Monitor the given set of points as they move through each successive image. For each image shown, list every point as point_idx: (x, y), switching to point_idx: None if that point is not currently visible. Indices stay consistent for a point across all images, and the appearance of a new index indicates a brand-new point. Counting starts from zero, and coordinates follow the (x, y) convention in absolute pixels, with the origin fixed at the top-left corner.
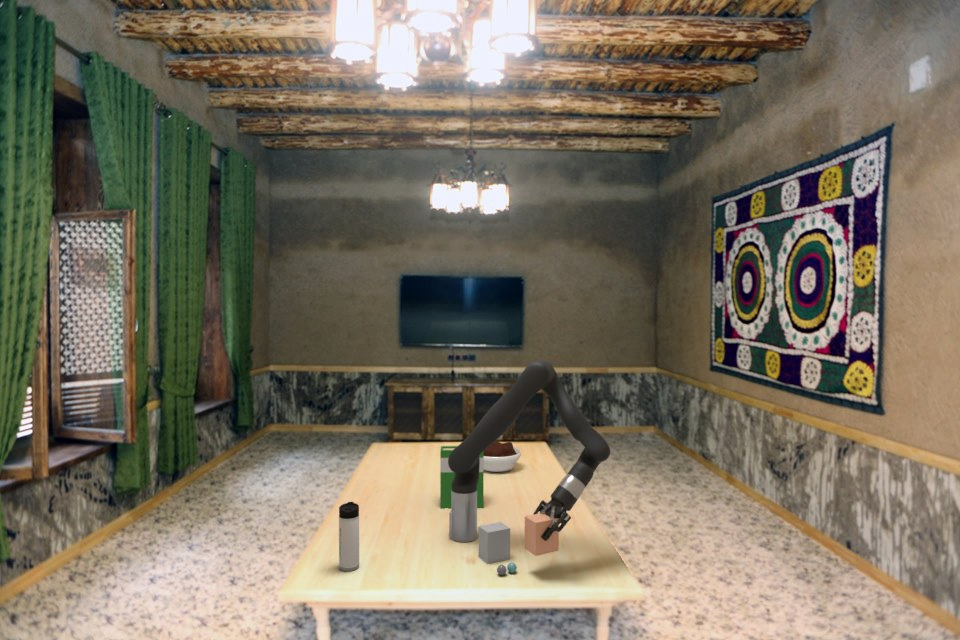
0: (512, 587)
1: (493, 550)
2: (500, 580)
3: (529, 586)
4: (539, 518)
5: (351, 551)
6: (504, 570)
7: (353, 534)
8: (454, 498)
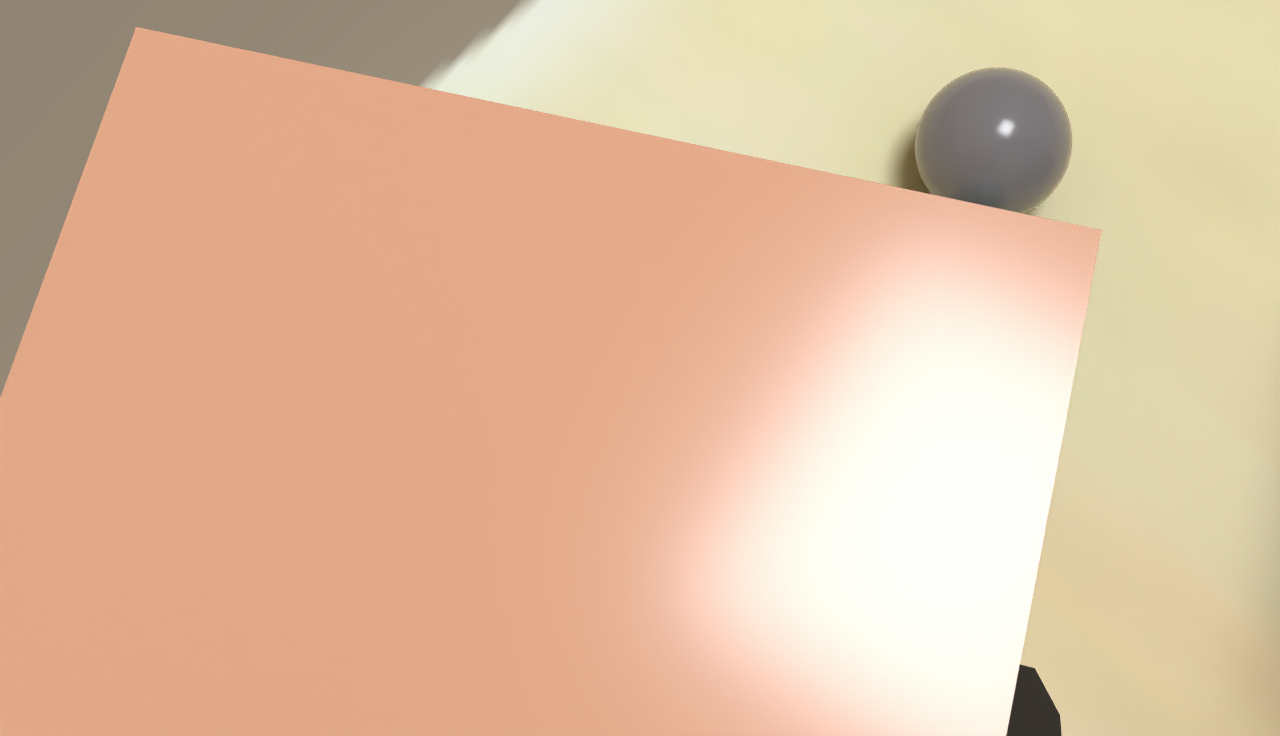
0: (600, 45)
1: None
2: (856, 53)
3: None
4: (366, 567)
5: None
6: (920, 128)
7: None
8: None
